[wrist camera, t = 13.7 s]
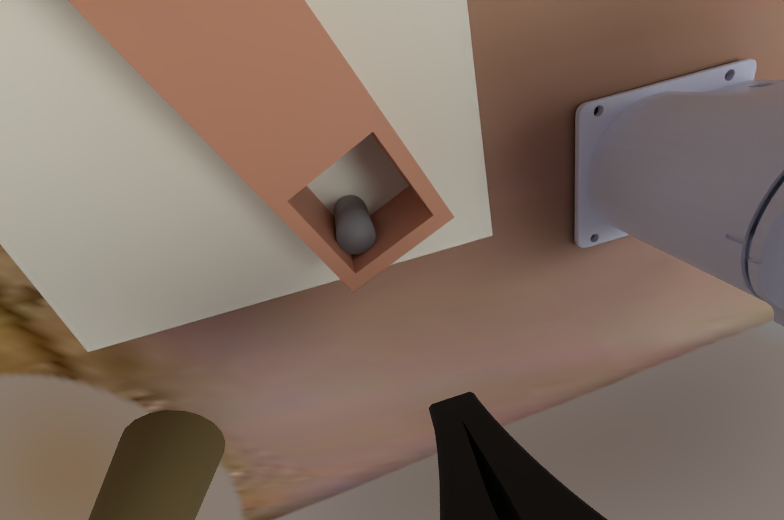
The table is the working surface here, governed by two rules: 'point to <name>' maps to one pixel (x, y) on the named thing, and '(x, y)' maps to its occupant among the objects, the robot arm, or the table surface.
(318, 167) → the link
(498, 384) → the table surface
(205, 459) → the cork
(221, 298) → the board
